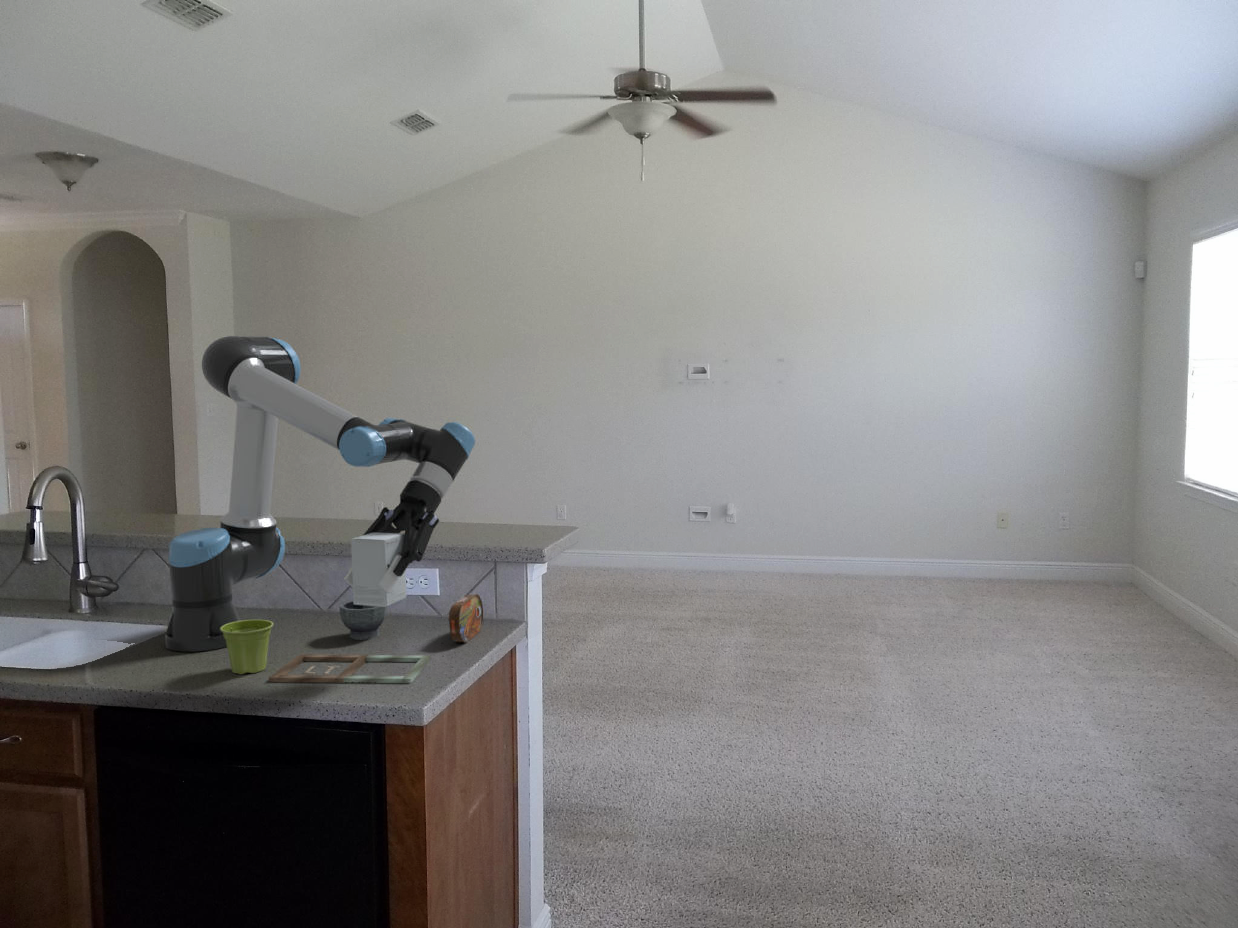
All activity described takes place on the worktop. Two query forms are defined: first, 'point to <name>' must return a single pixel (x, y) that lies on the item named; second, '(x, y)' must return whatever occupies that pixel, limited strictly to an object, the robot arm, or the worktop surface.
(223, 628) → the plant pot
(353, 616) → the mortar and pestle
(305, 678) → the metal double frame
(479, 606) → the tin
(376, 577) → the supplement box
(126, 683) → the worktop surface
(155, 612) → the worktop surface
